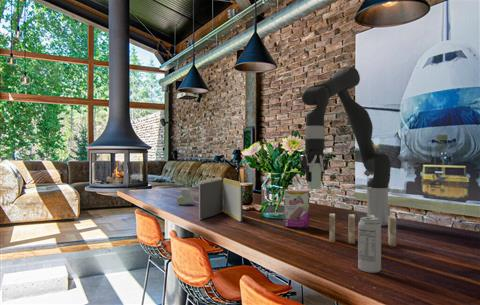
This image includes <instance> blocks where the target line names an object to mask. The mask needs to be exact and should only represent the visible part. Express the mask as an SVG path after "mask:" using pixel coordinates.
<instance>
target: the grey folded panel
mask: <svg viewBox="0 0 480 305" xmlns="http://www.w3.org/2000/svg"><path fill="white" fill-rule="evenodd" d="M243 206H244V205H243V185H241V182H240V181H238V180H232V179H229V178H225V177H223V179H222V176H219V177H213V178H208V179H203V180H199V182H198V218H199V221H200V220H201V221H202V220H203V219H207V218H209V217H213V216H216V215H218V214H220V213H222V212H223V213H224V214H226V215H227V214H228V215H227V216H229V217H231V218H232V219H233V220H236V221H238V222H243V221H244V220H243V219H244V217H243V216H244V215H243V213H244V212H243V210H244V209H243Z"/></svg>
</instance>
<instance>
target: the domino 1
mask: <svg viewBox="0 0 480 305" xmlns="http://www.w3.org/2000/svg"><path fill="white" fill-rule="evenodd" d="M308 164H311V163H308ZM308 168H309V167H308ZM311 172H312V181H311V182H307V190H321V189H322V181H321V167H320V163H315V164H314V166H313V167H312V171H311Z"/></svg>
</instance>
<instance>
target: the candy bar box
mask: <svg viewBox="0 0 480 305" xmlns="http://www.w3.org/2000/svg"><path fill="white" fill-rule="evenodd" d="M309 222H310V191H309V189H284V191H283V227H284V228H306V229H307V228H309V227H310V223H309Z"/></svg>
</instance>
